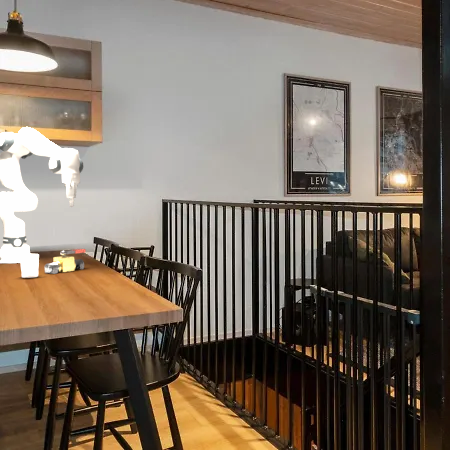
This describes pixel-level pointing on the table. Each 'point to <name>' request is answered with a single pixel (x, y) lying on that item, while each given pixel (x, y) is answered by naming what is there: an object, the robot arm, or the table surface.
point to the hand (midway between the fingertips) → (71, 206)
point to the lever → (72, 251)
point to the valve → (64, 264)
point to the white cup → (29, 265)
